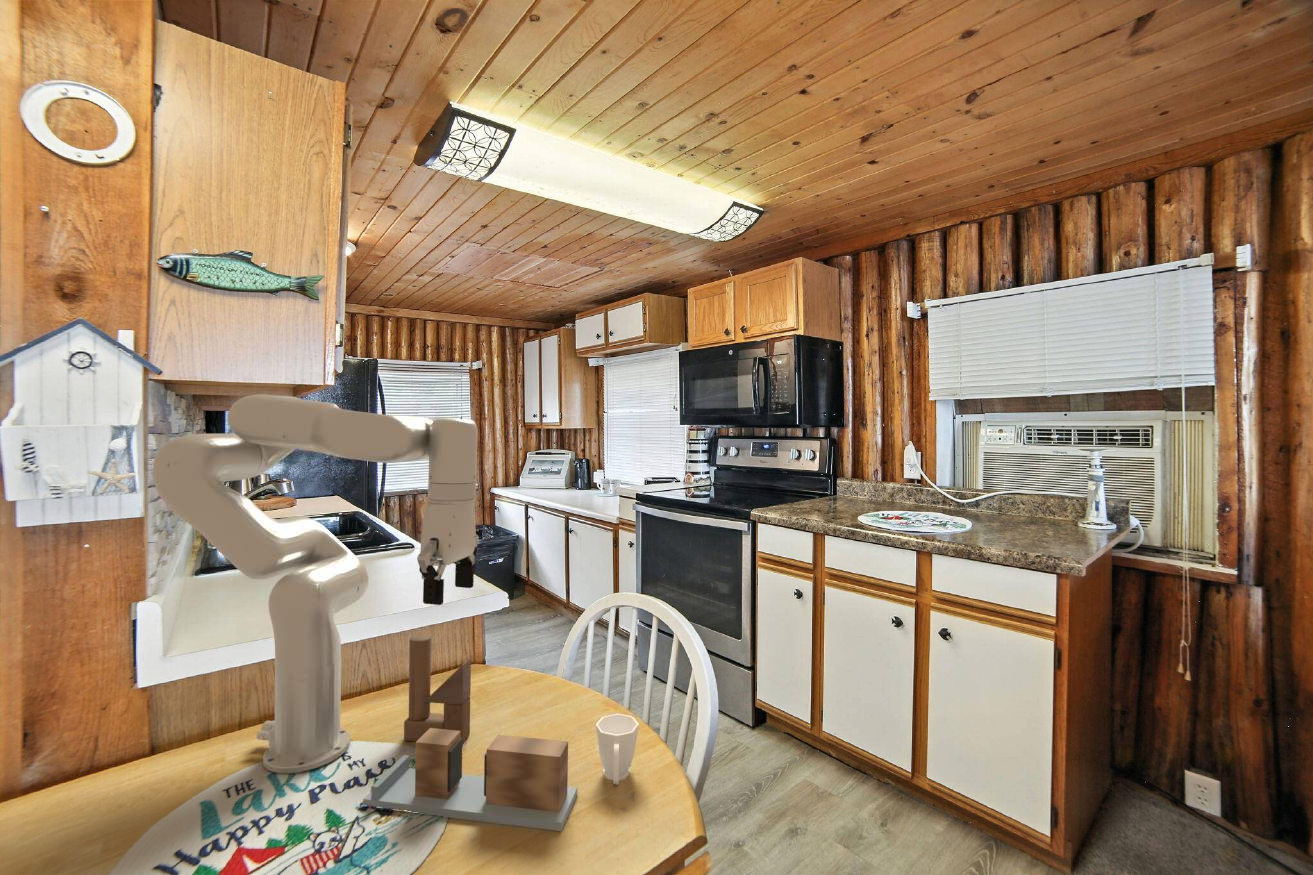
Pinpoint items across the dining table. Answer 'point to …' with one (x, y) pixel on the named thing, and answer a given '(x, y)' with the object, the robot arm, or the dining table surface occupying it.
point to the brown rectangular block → (438, 763)
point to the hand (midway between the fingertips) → (449, 595)
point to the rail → (460, 801)
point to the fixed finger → (526, 773)
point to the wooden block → (435, 694)
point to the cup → (616, 744)
